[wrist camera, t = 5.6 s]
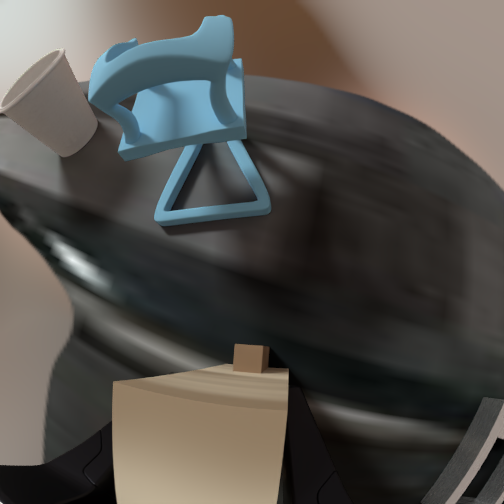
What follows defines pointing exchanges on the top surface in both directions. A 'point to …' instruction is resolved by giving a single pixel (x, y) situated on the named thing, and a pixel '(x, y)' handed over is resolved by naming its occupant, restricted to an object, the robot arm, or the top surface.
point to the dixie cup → (51, 105)
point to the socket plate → (473, 460)
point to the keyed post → (202, 434)
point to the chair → (180, 109)
